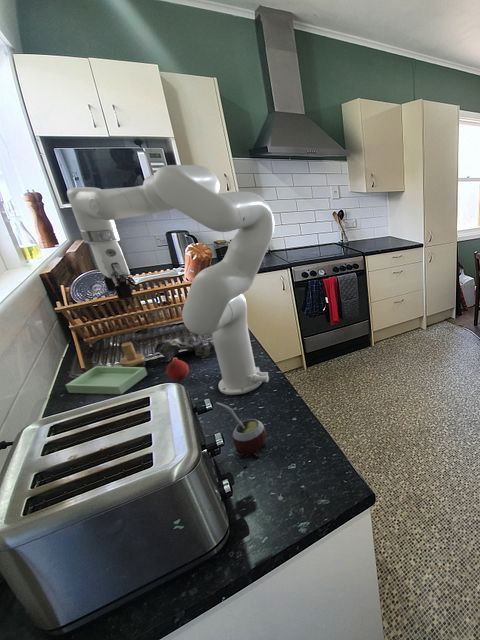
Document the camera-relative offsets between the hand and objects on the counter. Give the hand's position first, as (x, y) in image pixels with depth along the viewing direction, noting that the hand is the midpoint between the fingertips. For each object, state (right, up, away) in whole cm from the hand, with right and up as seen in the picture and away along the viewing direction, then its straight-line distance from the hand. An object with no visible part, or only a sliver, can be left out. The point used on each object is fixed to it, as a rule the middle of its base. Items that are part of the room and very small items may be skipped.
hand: (120, 293), depth 102 cm
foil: (+5, -21, +23) cm, 31 cm away
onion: (+11, -27, +9) cm, 31 cm away
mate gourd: (+47, -40, -17) cm, 65 cm away
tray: (-9, -27, +6) cm, 29 cm away
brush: (-9, -23, +15) cm, 29 cm away
